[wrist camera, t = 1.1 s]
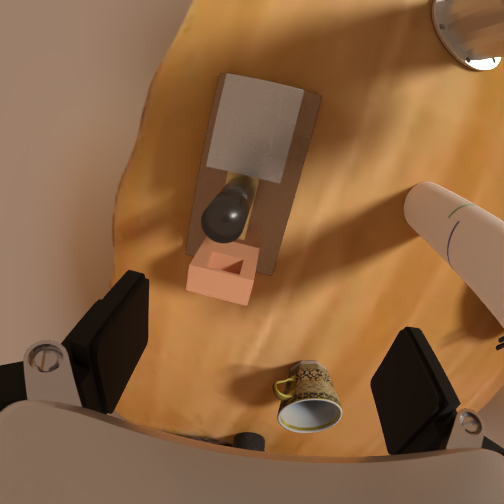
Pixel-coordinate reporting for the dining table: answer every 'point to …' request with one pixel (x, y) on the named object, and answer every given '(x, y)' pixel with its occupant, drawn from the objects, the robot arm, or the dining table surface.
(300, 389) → the ceramic cup
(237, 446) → the travel mug
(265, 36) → the dining table surface
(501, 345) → the ramen bowl
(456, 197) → the cylindrical container
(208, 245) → the socket
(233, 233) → the sliding bolt with handle
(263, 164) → the brown wooden base board
